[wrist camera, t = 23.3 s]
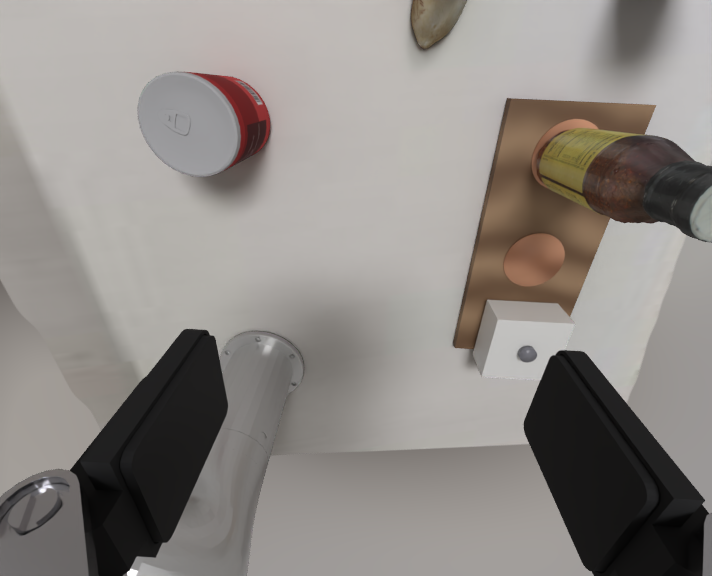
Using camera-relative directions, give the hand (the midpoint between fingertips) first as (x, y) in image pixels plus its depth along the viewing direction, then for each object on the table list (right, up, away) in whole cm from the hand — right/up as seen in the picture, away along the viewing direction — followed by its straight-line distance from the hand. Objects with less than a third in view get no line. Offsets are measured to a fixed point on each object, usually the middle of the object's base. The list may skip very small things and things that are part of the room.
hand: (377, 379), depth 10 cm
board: (+21, +8, +33) cm, 40 cm away
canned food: (-13, +21, +27) cm, 37 cm away
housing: (+20, -3, +38) cm, 43 cm away
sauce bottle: (+21, +16, +27) cm, 38 cm away
